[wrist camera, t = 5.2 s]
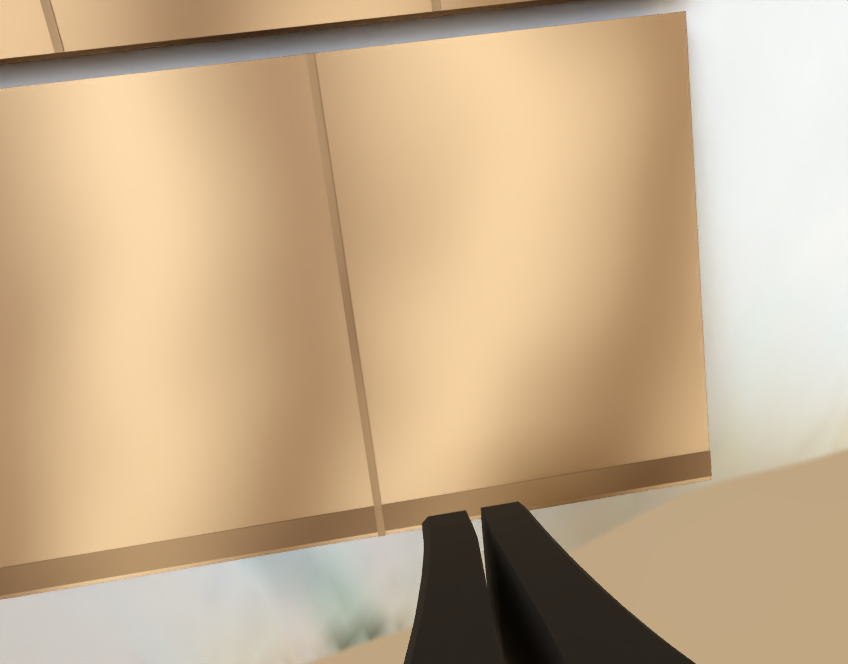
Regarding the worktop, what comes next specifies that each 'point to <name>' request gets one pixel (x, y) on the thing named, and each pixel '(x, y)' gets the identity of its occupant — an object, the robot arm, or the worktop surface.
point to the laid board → (195, 21)
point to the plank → (344, 296)
